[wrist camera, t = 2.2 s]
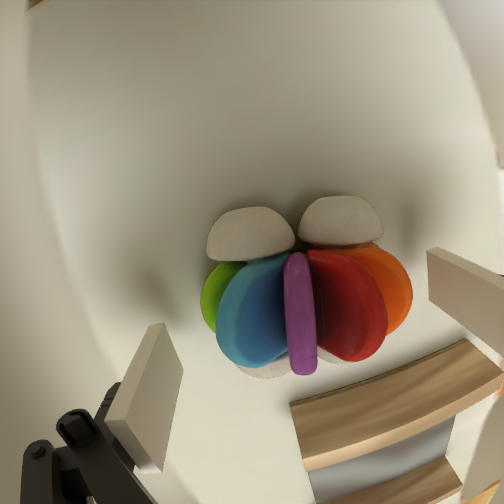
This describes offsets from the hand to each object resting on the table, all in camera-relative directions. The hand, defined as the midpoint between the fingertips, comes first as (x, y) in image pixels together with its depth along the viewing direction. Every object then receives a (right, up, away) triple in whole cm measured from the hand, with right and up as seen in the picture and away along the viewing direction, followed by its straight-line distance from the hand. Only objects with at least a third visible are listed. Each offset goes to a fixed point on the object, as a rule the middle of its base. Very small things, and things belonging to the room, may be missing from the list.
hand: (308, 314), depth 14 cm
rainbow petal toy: (0, +2, +3) cm, 3 cm away
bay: (+9, -13, +7) cm, 18 cm away
